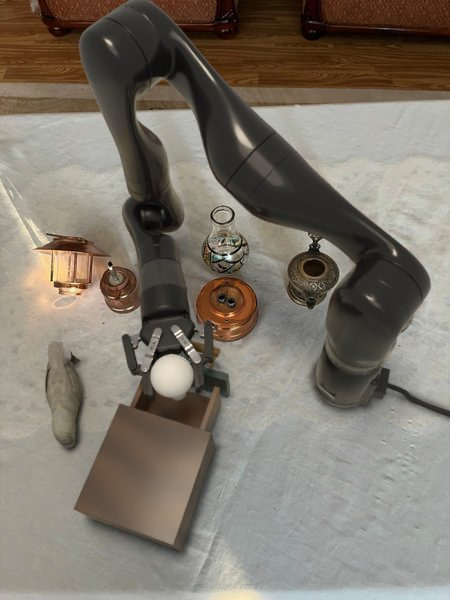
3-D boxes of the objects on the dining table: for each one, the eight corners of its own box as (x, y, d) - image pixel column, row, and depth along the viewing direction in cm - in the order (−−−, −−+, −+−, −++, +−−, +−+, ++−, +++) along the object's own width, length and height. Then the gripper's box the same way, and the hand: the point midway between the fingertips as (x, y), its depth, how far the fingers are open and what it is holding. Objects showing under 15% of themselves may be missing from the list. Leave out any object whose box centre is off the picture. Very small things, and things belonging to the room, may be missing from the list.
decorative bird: (55, 452, 84) (39, 439, 78) (52, 361, 92) (37, 344, 86) (88, 445, 85) (75, 432, 78) (82, 356, 93) (70, 337, 86)
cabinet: (131, 422, 86) (119, 403, 78) (215, 449, 84) (212, 432, 75) (91, 518, 79) (73, 509, 71) (181, 551, 77) (173, 545, 68)
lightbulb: (206, 397, 81) (200, 370, 71) (174, 421, 79) (163, 398, 70) (183, 368, 83) (174, 339, 74) (151, 391, 82) (138, 365, 72)
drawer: (166, 344, 92) (160, 323, 86) (239, 364, 90) (238, 345, 83) (122, 450, 83) (111, 436, 77) (201, 476, 81) (197, 465, 74)
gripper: (112, 289, 79) (119, 395, 71) (206, 274, 80) (224, 377, 71) (122, 313, 86) (130, 411, 77) (209, 299, 86) (226, 395, 78)
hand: (175, 394), depth 74 cm, fingers closed on lightbulb, 6 cm apart
